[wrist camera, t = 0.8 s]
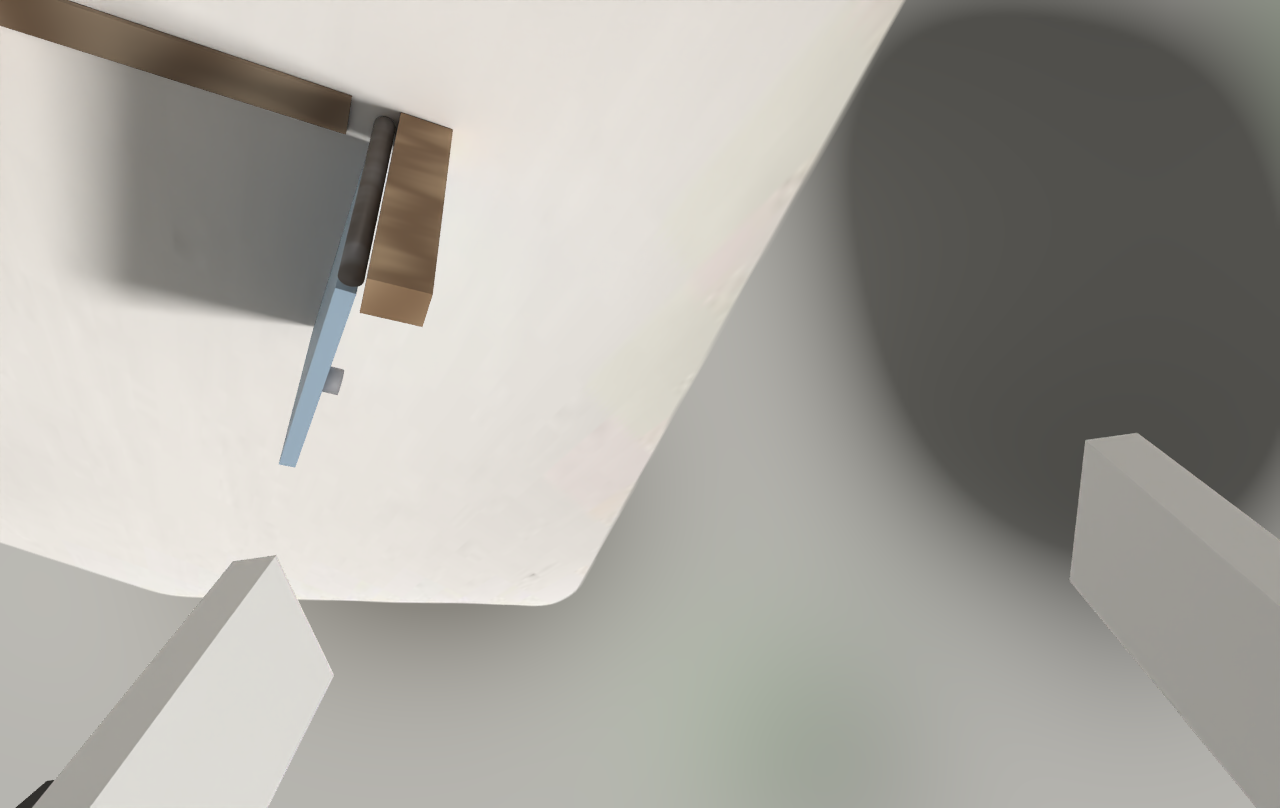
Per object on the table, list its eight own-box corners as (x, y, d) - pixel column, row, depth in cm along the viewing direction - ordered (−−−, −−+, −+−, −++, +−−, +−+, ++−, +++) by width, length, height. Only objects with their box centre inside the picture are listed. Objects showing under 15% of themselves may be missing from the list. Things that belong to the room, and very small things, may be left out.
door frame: (-312, -77, 32) (-616, 91, 23) (-341, -137, 30) (-681, 21, 22) (443, 162, 44) (422, 326, 36) (452, 129, 43) (432, 294, 34)
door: (369, 147, 43) (335, 287, 35) (409, 163, 44) (384, 302, 37) (312, 330, 54) (278, 464, 47) (345, 339, 55) (317, 471, 48)
